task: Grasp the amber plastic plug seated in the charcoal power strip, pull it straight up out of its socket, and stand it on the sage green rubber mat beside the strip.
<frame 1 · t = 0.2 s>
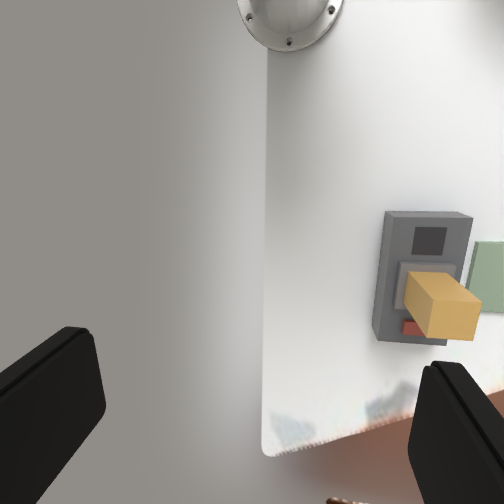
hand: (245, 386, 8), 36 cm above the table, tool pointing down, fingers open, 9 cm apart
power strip: (411, 273, 43), on the table
plug: (410, 273, 43), resting in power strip
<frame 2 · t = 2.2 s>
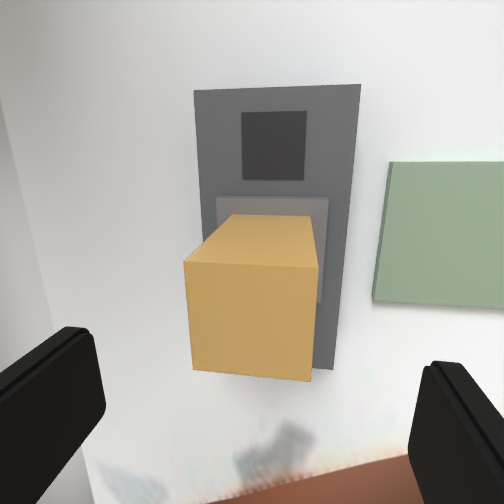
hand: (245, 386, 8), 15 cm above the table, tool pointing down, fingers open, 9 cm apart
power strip: (276, 230, 23), on the table
plug: (276, 230, 23), resting in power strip
mat: (455, 236, 21), on the table
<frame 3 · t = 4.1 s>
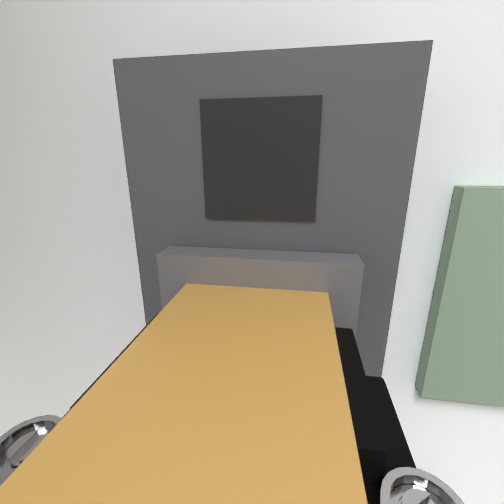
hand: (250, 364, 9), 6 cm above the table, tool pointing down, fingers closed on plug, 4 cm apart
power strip: (269, 286, 15), on the table
plug: (270, 287, 15), resting in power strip, touching gripper
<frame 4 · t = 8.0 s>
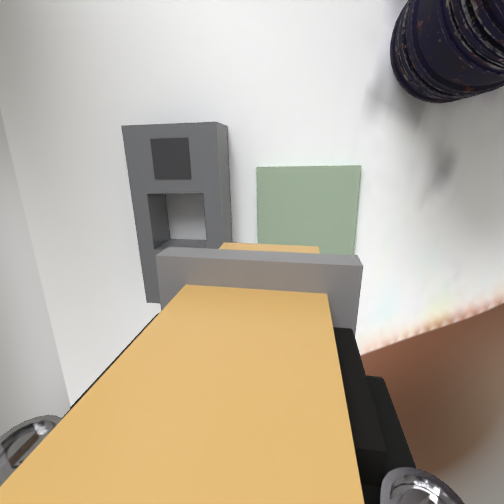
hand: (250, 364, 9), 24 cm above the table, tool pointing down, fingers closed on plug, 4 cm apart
storage jar: (450, 40, 25), on the table
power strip: (191, 215, 33), on the table
plug: (269, 287, 15), point 18 cm above the table, touching gripper
mat: (305, 215, 31), on the table
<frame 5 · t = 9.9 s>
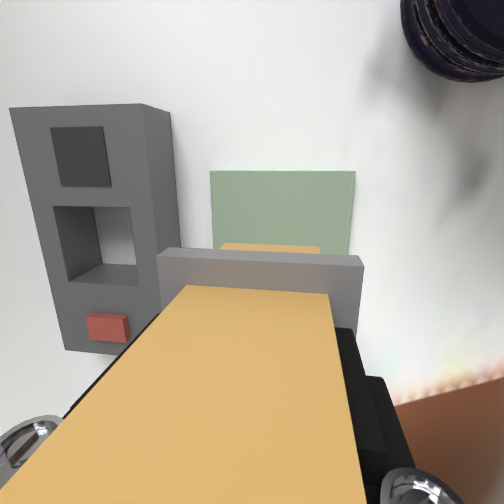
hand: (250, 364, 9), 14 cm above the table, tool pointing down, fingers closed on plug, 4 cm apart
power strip: (128, 233, 25), on the table
plug: (270, 288, 15), point 9 cm above the table, touching gripper
mat: (279, 238, 23), on the table
when the fingers open (8 cm above the table, at t = 11.9 s): plug drops 1 cm, resting on mat.
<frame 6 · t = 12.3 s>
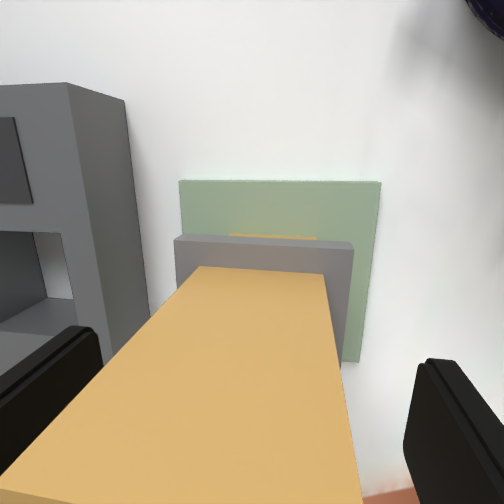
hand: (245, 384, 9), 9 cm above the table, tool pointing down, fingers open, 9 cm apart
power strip: (77, 259, 19), on the table
plug: (271, 275, 16), point 1 cm above the table, touching mat
mat: (274, 270, 17), on the table
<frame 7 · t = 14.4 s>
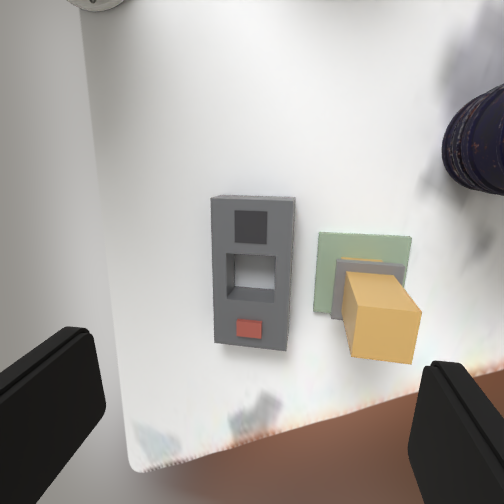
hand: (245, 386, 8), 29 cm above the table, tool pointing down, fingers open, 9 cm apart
storage jar: (493, 142, 30), on the table
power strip: (256, 267, 38), on the table
plug: (358, 276, 35), point 1 cm above the table, touching mat
mat: (358, 274, 36), on the table
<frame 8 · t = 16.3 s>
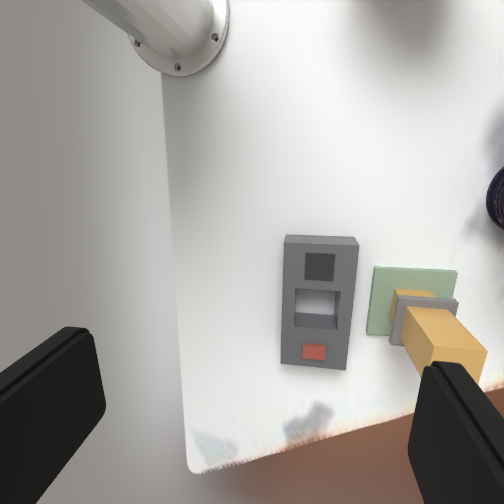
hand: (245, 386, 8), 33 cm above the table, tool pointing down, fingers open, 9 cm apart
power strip: (315, 296, 43), on the table
plug: (409, 304, 40), point 1 cm above the table, touching mat
mat: (407, 302, 41), on the table
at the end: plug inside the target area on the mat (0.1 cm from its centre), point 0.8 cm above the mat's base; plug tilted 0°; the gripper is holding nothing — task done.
